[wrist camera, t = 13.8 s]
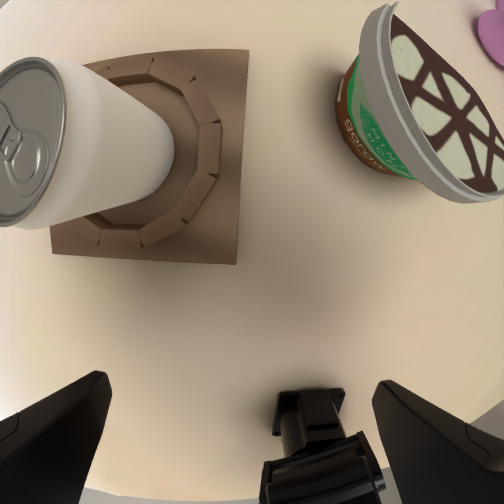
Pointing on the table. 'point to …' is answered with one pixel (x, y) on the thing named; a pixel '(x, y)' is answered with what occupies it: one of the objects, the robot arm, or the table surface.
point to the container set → (493, 32)
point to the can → (73, 144)
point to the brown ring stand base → (176, 162)
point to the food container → (418, 115)
